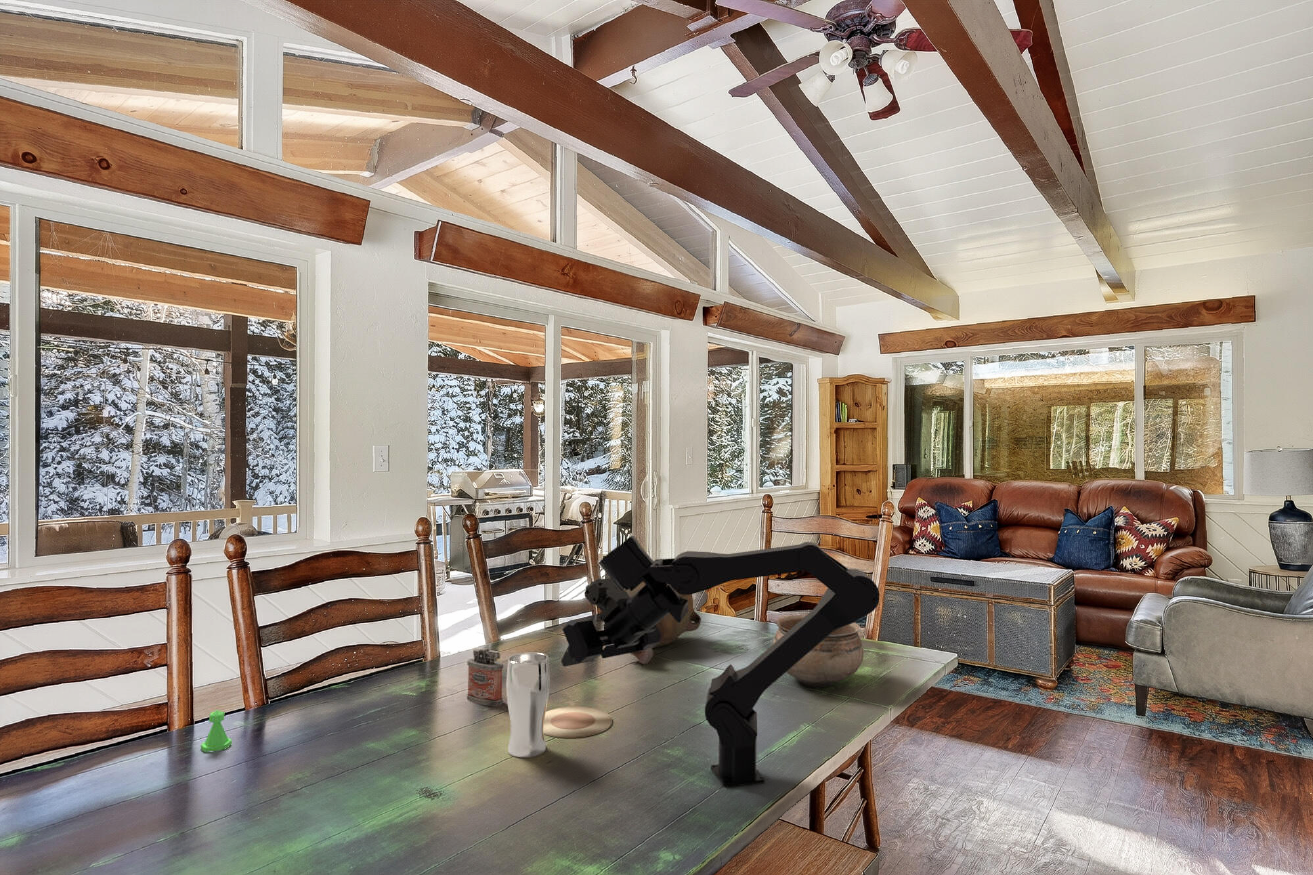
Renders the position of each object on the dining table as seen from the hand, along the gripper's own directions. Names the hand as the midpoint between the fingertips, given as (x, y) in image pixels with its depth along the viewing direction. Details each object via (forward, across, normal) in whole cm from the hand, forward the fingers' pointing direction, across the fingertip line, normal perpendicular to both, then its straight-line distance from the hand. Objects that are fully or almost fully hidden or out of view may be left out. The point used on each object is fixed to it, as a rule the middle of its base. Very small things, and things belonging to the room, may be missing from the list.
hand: (583, 659), depth 120 cm
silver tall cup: (+14, +5, +8) cm, 17 cm away
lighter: (+32, -5, -8) cm, 33 cm away
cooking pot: (-5, -57, +17) cm, 60 cm away
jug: (+29, -53, -9) cm, 61 cm away
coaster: (+16, -8, +5) cm, 18 cm away
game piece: (+47, +37, -15) cm, 61 cm away
